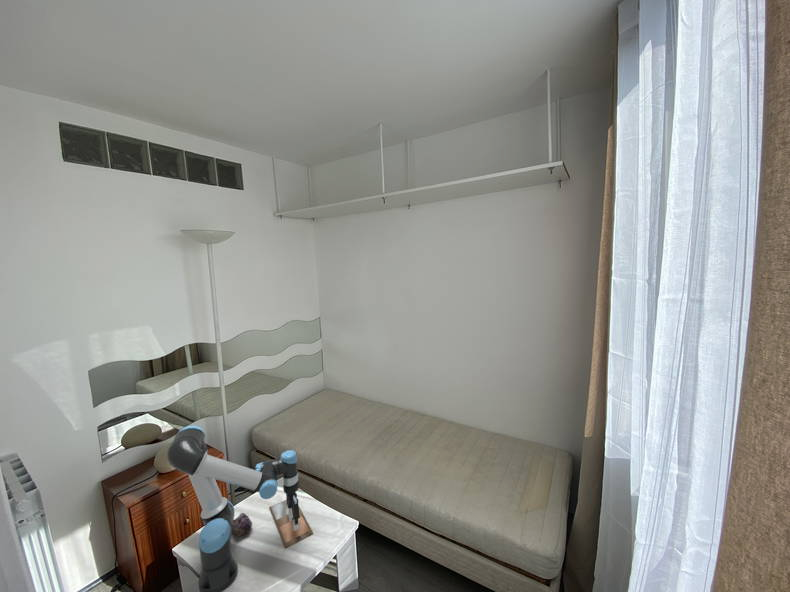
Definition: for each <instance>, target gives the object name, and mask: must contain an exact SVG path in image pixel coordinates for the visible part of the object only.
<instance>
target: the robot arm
mask: <svg viewBox="0 0 790 592" xmlns="http://www.w3.org/2000/svg"><path fill="white" fill-rule="evenodd" d="M205 437H206V436H205V431H204V429H203V428H202V427H200V426H197V425H187V426H185V427H183V428H181V429H179V431H178V432H177V433H176V434H175V435H174V438H173V440H172V442H171V443H170V445H169V447H168V448H167V450H166V460H167V462H168V464H169V465H170V466H171V467H172V468H173V469H175V470H177V471H179V472H181V473H184V474H186V475H187V476H188V477H189V478H188V479H189V481H190V483H191V484H192V487H193V490H194V493H195V495H196V497H197V499H198V502H199V504H200V507H201V509H202V510H201V512H200V518H201V521H202V523H203V525H204V526H203V528H202V529H201V530H200V532H199V536H198V546H199V553H200V564H201V570H200V574H199V579H198V582H197V583H198V590H199V592H222V591H224V590H227V588H229V587H230V586H231V584H232V583H233V582H234V581H235V580H236V578H237V576H238V573H239V568H238V567H239V566H238V562H237V560H236V558H235V557H234V555H233V550H232V533H233V532H232V525H233V519H234V518H235V507H234V505H233V503H232V502H231V501H229V499H228V498H227V497H224V496H222V492H221V490H220V488H219V486H218V483H217V481H221V482H224V483H227V484H230V485H231V484H232V485H234V486H238V487H240V488H244V489H248V490H251V491H254V492H256V493H259V496H260V497H261V499H263V500H269V499H272V498H273V497H274V496H275V495H276V494H277V491H278V477H277V476H282V477H281V478H282V486H283V487H282V488H283V493H285V494H286V495H285V496H286V497H285V498H286V499H285V500H287V505H288V508H289V509H288V513H289V522H290V521H292V520H293V530H294V531H295V530H297V529H299V518H300V515H299V507H300V506H298V505H299V499H298V498H297V497H298V494H297V491H298V490H299V488H300V483H299V475H300V473H299V472H298V471H299V468H298V457H297V452H296V451H295V450H293V449H292V450H291V449H289V450H286V451H283V452H282V453H281V455H280V457H279V458H276V459H270V460H266V461H263V462H260V463H257V464H256V465H255V469H253V468H249V467H246V466H243V465H240V464H239V463H238V464H237V463H235V462H231V461H228V460H225V459H222V458H219V457H216V456H213V455H211V454H208V451H209V449H208V447H207V445H206V442H205ZM216 480H217V481H216ZM234 520H235V519H234Z"/></svg>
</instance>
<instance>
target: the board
mask: <svg viewBox="0 0 790 592" xmlns="http://www.w3.org/2000/svg"><path fill="white" fill-rule="evenodd" d="M298 506H299V504H298ZM268 509H269V511H270V513H271V516H272V519H273V521H274V524H275V526H276V529H277V531H278V533H279V536H280V538H281V542H282V544H283V546H284V548H285V549H287V548H289V547H291V546H293V545H295V544H296V543H299V542H301V541H302V540H305V539H307V538H308V537H310V536H312V535H314V532H313V529H312V527H311V526H310V523H309V522H308V521H307V519H306V517H305V515H304V513H303V511H302V509H301V508H300V506H299V515H300V518H299V529H297V530H295V531H294V530H293V520H292V521H290V522H289V513H288V509H289V508H288V505H287V500H286V499H285V500H283V501H280V502H278V503H276V504H274V505H271V506H269V507H268Z"/></svg>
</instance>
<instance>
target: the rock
mask: <svg viewBox="0 0 790 592" xmlns="http://www.w3.org/2000/svg"><path fill="white" fill-rule="evenodd" d="M252 525H253V522H252V520H251V519H250V517H249V515H247V514H246V513H244V512H241V513H240V514H238V517H236V519H233V525H232V533H234V534H236V536H239V537H242V536H243V535H244V534H245V533H247V532H248V531H249V530H251V527H252Z"/></svg>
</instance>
